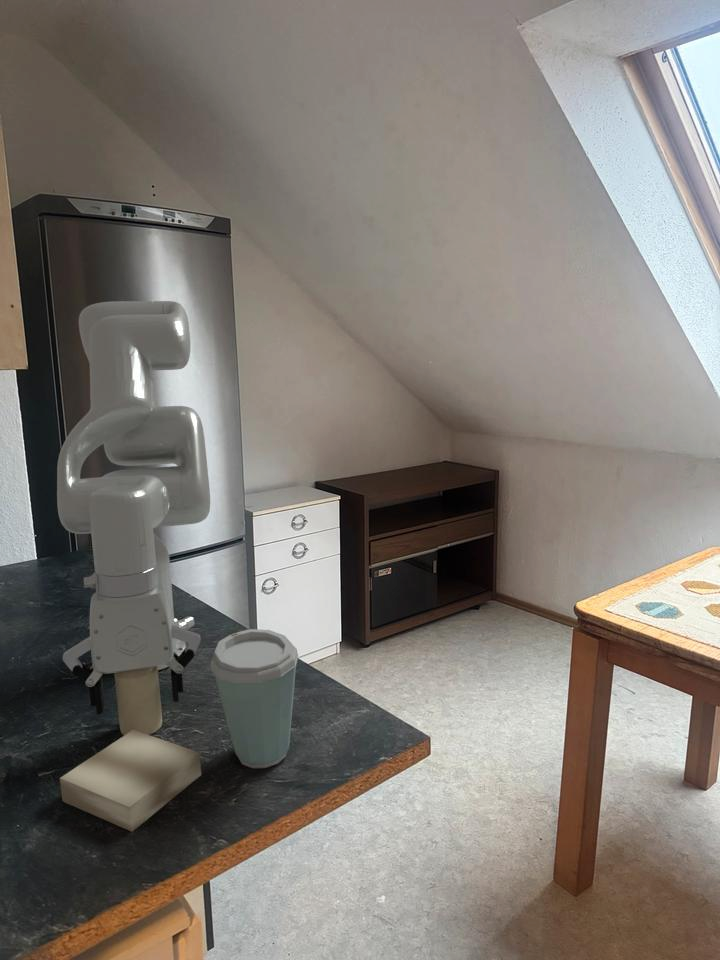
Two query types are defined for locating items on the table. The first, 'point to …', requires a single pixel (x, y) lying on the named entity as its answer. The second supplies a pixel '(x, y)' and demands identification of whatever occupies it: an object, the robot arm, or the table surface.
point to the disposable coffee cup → (257, 693)
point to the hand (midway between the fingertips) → (138, 703)
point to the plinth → (131, 779)
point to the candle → (139, 700)
